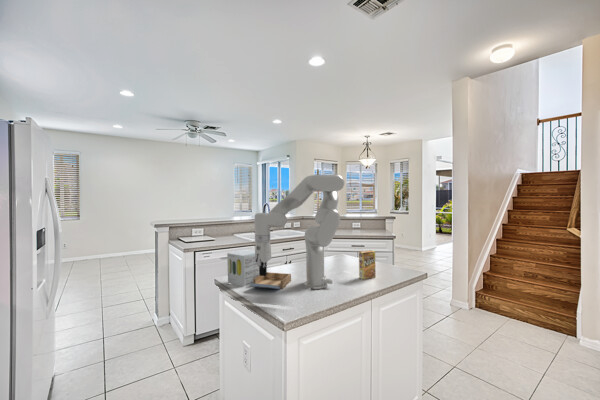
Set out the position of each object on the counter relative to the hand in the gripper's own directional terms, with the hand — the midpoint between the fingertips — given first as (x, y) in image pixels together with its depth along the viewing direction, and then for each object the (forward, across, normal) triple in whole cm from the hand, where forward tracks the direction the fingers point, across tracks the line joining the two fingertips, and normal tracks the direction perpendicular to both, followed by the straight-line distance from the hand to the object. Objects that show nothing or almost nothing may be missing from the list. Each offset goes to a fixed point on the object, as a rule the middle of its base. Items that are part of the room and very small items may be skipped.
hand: (263, 275), depth 137 cm
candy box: (+9, +40, -48) cm, 63 cm away
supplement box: (+9, +12, +17) cm, 23 cm away
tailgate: (+8, +6, 0) cm, 10 cm away
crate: (+9, +12, 0) cm, 15 cm away
